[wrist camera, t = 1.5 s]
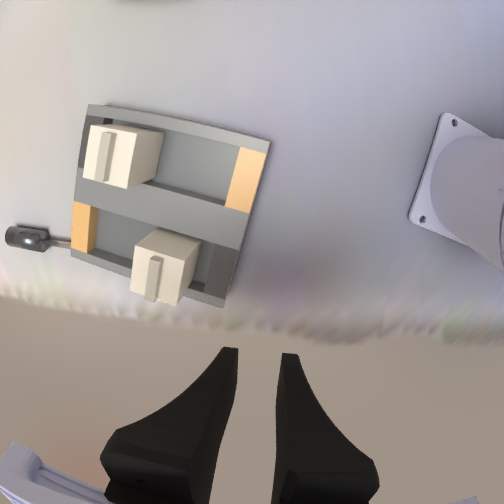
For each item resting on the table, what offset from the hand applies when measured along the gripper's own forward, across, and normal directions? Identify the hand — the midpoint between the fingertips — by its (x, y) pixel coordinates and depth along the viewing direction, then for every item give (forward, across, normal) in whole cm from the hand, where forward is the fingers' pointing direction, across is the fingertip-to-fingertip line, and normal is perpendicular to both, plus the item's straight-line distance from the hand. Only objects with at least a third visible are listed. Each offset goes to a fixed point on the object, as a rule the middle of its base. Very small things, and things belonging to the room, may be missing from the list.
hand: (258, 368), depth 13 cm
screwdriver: (+10, +19, -1) cm, 21 cm away
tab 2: (+9, +6, -1) cm, 11 cm away
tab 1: (+9, +9, -8) cm, 15 cm away
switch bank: (+10, +8, -5) cm, 13 cm away
